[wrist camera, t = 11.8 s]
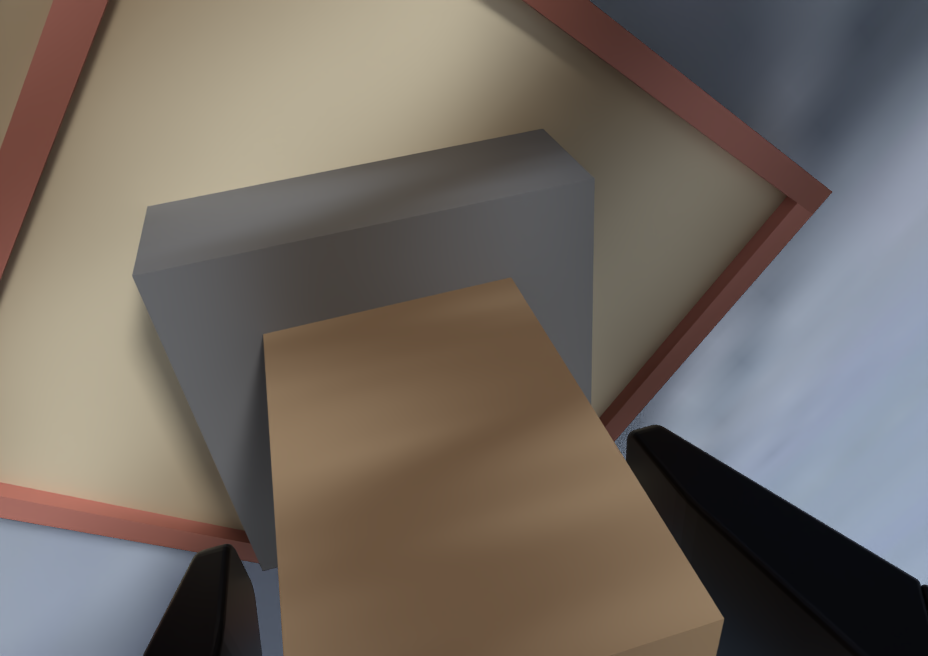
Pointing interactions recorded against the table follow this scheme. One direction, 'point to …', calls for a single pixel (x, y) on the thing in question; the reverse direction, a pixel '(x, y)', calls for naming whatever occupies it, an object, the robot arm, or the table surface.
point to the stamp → (420, 407)
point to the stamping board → (313, 151)
